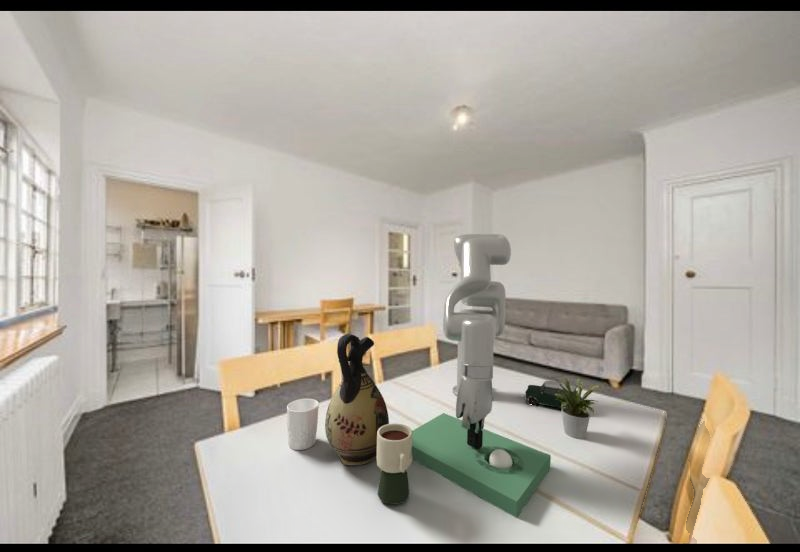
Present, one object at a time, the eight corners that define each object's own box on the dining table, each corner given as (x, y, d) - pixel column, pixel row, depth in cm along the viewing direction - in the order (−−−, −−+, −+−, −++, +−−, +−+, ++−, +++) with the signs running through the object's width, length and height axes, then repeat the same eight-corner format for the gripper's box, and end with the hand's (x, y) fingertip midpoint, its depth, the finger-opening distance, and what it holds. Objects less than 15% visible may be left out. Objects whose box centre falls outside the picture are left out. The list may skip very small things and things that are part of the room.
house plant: (535, 432, 87) (536, 375, 86) (550, 416, 97) (551, 365, 97) (593, 453, 77) (595, 389, 77) (603, 433, 87) (605, 376, 87)
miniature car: (527, 395, 114) (527, 374, 114) (583, 407, 105) (583, 384, 105) (523, 404, 106) (523, 381, 106) (583, 417, 97) (584, 392, 97)
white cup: (309, 431, 84) (309, 396, 84) (323, 443, 79) (324, 405, 79) (281, 442, 79) (281, 404, 79) (294, 455, 73) (295, 414, 73)
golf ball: (497, 481, 68) (483, 458, 71) (515, 468, 70) (500, 446, 72) (501, 478, 65) (486, 455, 67) (519, 465, 66) (504, 442, 69)
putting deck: (397, 450, 76) (398, 438, 76) (443, 422, 91) (443, 413, 91) (516, 517, 56) (516, 501, 56) (550, 468, 71) (550, 455, 71)
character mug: (420, 512, 57) (422, 443, 57) (384, 522, 54) (385, 450, 54) (400, 475, 67) (402, 416, 67) (369, 482, 65) (370, 421, 64)
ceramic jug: (350, 431, 85) (352, 325, 85) (398, 447, 78) (401, 330, 77) (305, 465, 70) (307, 335, 69) (360, 488, 63) (363, 344, 62)
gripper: (477, 360, 81) (475, 428, 81) (445, 373, 70) (444, 452, 70) (504, 366, 76) (502, 439, 76) (475, 381, 65) (473, 467, 65)
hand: (474, 445), depth 73 cm, fingers closed
